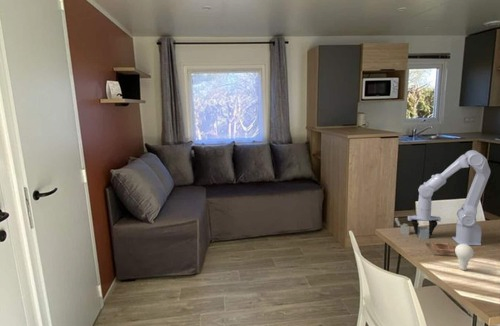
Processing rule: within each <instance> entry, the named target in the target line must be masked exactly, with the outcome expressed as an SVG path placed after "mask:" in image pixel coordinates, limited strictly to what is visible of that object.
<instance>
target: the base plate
mask: <svg viewBox="0 0 500 326" xmlns="http://www.w3.org/2000/svg"><path fill="white" fill-rule="evenodd" d="M425 245H426V247H427V248H428V249H429V251H430V252H431V254H433V256H434V257H456V258H458V257H457V255H456V253H455V248H456V246H454V245H453V244H451V243H449V242H448V243H447V242H445V243H444V242H431V243H426V244H425Z"/></svg>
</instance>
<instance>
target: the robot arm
mask: <svg viewBox="0 0 500 326" xmlns="http://www.w3.org/2000/svg"><path fill="white" fill-rule="evenodd" d="M470 167H472V168H473V170H474V171H475V175H474V177H473V180H472V182H471V185H470V188H469V190H468V192H467V195H466V198H465V201H464V202H463V204H462V205H461V207H460V208H459V209H458V210H457V213H456V215H457V218H458V220H457V221H456V226H455V227H456V229H455V236H452V237H451V238H452V239H453V240H454V241H455V242H456V243H457V245H459V244H467V245H469V246H482V243H481V242H482V227H481V226H480V225H479V224H478V223H477V214H478V213H477V212H478V206H479V203H480V201H481V198H482V195H483V193H484V190H485V188H486V185H487V183H488V180H489V178H490V176H491V171H492V170H491V168H490V166H489V163H488V159H487V158H486V157H485V156H484V155H483V154H482V153H480V152H478V151H477V150H474V149H473V150H472V149H471V150H468V151H466V152H464V154H461V155H460V156H459V157H458V158H457V159H456V160H455V161H454V162H452V163H451V164H450V165H449V166H448V167H447V168H446V169H444V171H443V172H441V173H436V174H432V175H431V177H430V179H428V180H427V181H424V182H423V184H420V185H419V187H418V189H417V190H418V199H417V200H418V201H417V215H407V221H409V222H411V224H412V226H413V230H414V234H415V235H417V236H418V227H419V225H420V224H419V221H420V222H421V221H422V222H423V221H424V222H428V226H429V227H428V230H429V236H432V235H433V232H434V230H435V228H436V227H438V226H437V225H438V224H439V223H438V222H440V223H441V222H442V221H441V220H442V218H441V217H440V216H436V215H435V216H434V215H432V201H433V200H432V196H433V195H434V192H436V191H438V190H439V189H440V188H441V187H442V186H444V185H446V183H447V179H448V178H450V177H451V176H452V175H453V174H454V173H456V172H458V171H459V170H461V169H464V168H470Z"/></svg>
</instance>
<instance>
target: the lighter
mask: <svg viewBox="0 0 500 326" xmlns="http://www.w3.org/2000/svg"><path fill="white" fill-rule="evenodd" d="M394 221H395V223H396V225H397V227H400V232H399V234H402V235H407V236H409V235H410V234H411V233H410V232H411V229H410V228H411V225H408V223H402V224H401V221H400V219H399V217H395V218H394Z"/></svg>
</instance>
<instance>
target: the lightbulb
mask: <svg viewBox="0 0 500 326" xmlns="http://www.w3.org/2000/svg"><path fill="white" fill-rule="evenodd" d="M455 253H456V255H457V257H456V258H457V259H458V266H459V267H458V268H459V269H460V270H462V271H467V269H468V265H469V262H470V260H471V259H472V258H473V257H474V253H475V252H474V249H473V248H472V246H471V245H467V244H457V245H456V246H455Z"/></svg>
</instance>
